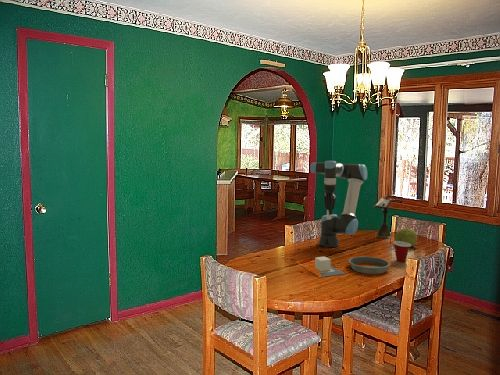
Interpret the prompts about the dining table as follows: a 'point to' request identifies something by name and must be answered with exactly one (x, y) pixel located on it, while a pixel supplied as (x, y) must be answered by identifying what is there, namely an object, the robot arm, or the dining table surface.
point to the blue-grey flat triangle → (332, 272)
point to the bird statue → (384, 229)
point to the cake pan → (369, 269)
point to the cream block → (323, 264)
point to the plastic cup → (401, 250)
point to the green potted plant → (406, 236)
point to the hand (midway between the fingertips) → (329, 219)
